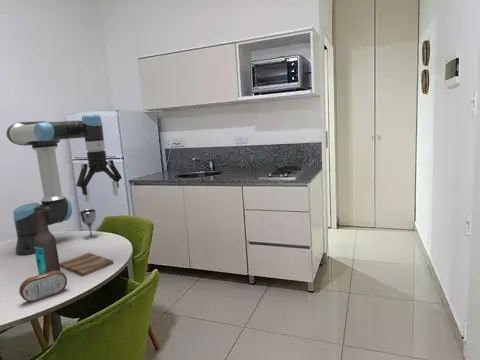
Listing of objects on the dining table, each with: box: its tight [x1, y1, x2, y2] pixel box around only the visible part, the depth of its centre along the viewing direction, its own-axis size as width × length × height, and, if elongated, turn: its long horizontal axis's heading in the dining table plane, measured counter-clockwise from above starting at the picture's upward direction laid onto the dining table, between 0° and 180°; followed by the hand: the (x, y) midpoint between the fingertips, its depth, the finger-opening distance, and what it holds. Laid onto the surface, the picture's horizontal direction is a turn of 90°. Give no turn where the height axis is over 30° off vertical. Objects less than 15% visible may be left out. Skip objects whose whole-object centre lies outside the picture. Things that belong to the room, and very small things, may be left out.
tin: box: [19, 270, 68, 302], centre depth 123 cm, size 15×3×8 cm, turn 131°
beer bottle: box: [34, 206, 62, 275], centre depth 135 cm, size 8×8×30 cm
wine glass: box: [79, 208, 99, 240], centre depth 188 cm, size 8×8×15 cm
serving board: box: [59, 252, 114, 277], centre depth 149 cm, size 20×14×2 cm
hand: (102, 198), depth 151 cm, fingers open, 13 cm apart
